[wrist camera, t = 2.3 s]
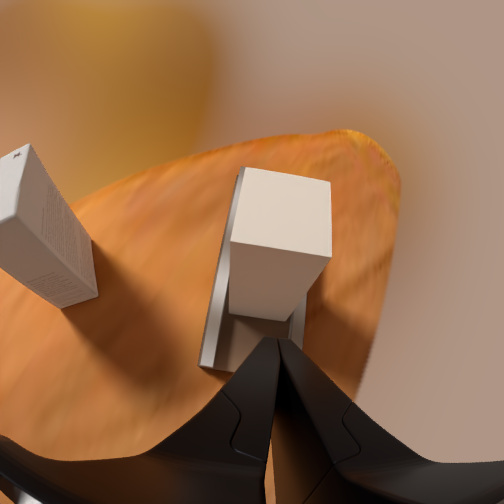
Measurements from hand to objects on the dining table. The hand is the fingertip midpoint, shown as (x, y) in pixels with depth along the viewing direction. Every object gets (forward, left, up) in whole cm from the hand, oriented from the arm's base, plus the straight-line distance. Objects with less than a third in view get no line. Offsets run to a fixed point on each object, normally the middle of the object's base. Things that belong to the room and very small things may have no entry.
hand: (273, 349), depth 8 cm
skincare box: (-6, +15, -12) cm, 21 cm away
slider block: (+5, +4, -11) cm, 12 cm away
